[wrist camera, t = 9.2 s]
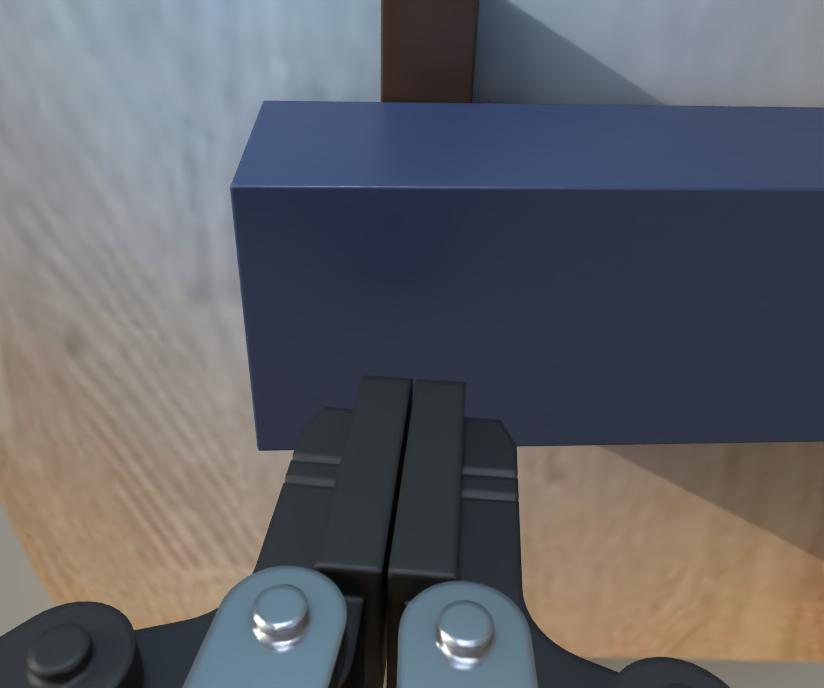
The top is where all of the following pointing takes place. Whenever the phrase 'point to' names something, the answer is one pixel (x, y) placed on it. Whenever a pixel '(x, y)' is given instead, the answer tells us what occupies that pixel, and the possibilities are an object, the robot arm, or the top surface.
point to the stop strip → (428, 50)
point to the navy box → (539, 266)
